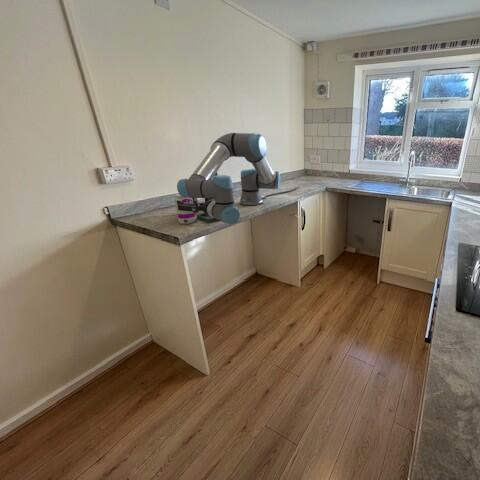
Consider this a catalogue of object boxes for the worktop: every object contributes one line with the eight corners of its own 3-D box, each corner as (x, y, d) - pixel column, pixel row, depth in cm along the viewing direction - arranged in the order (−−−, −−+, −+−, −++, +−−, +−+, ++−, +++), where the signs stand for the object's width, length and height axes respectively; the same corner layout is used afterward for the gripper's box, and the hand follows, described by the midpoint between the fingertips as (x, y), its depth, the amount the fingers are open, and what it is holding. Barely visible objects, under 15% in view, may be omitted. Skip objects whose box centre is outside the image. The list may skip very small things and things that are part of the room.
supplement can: (198, 222, 139) (193, 194, 133) (181, 225, 134) (176, 196, 128) (192, 218, 144) (188, 192, 139) (176, 221, 139) (171, 194, 133)
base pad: (217, 213, 155) (217, 210, 154) (229, 218, 147) (228, 214, 146) (196, 218, 146) (196, 214, 145) (208, 223, 138) (207, 219, 137)
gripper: (187, 223, 108) (166, 213, 121) (239, 212, 126) (216, 204, 139) (184, 205, 105) (163, 197, 118) (237, 196, 123) (214, 190, 136)
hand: (192, 201), depth 128 cm, fingers open, 13 cm apart
